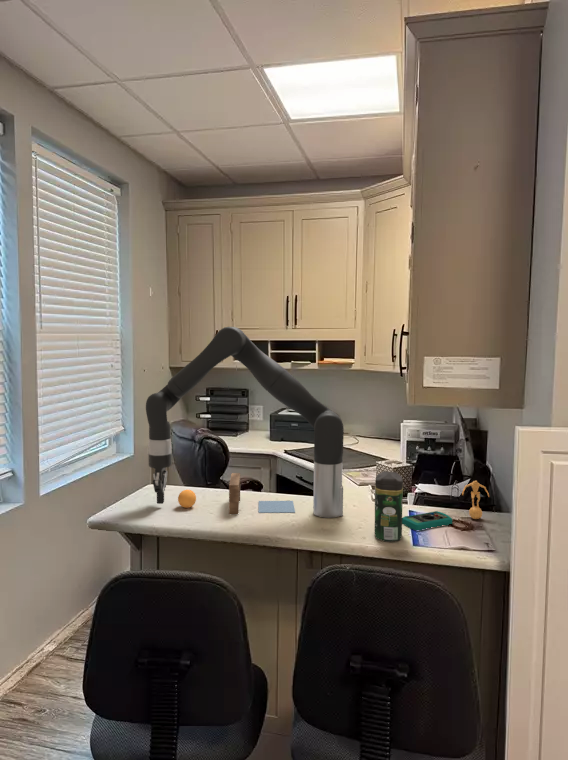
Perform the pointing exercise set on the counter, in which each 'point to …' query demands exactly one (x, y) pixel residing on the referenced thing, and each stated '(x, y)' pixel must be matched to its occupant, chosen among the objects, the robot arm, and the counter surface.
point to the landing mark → (276, 507)
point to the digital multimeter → (426, 520)
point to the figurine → (475, 510)
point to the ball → (187, 498)
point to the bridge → (234, 493)
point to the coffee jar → (388, 506)
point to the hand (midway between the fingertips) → (160, 502)
